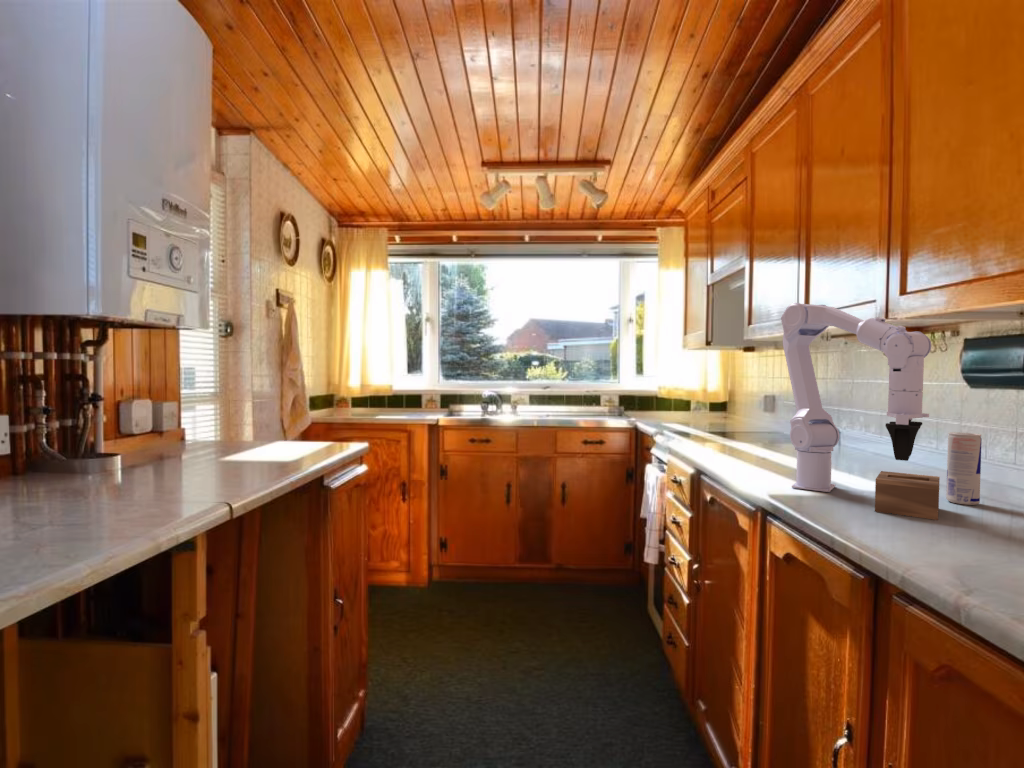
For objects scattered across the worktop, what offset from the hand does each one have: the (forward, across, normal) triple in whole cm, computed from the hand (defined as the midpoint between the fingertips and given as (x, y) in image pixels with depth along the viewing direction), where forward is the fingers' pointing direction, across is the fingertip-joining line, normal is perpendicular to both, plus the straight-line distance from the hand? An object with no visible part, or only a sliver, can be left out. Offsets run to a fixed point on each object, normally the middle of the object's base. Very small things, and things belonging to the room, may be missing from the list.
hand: (903, 457), depth 116 cm
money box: (+10, -1, -1) cm, 10 cm away
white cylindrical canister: (+10, +15, -10) cm, 21 cm away
